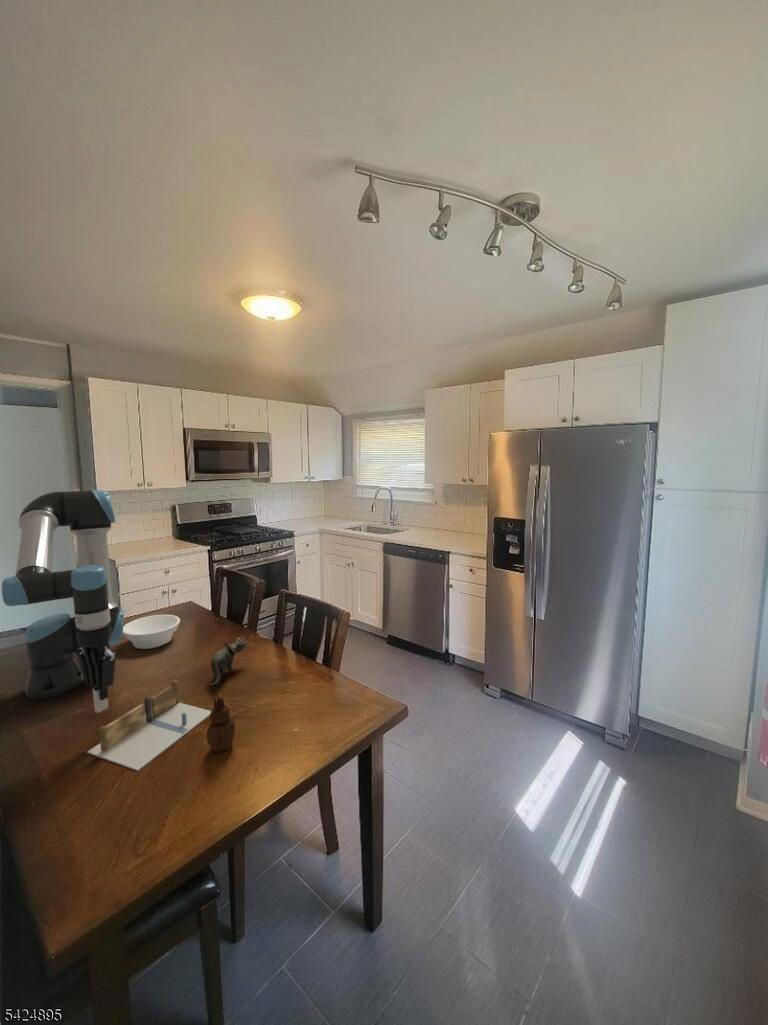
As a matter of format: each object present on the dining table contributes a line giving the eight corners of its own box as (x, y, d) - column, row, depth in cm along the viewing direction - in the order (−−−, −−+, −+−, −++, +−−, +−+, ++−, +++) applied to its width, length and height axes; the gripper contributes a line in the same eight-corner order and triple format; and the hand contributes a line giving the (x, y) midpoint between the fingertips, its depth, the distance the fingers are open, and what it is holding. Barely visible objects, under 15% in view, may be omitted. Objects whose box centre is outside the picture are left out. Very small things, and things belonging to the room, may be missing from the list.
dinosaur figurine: (213, 696, 134) (211, 663, 132) (190, 693, 135) (188, 660, 134) (249, 663, 155) (247, 634, 153) (228, 661, 157) (226, 632, 155)
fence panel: (142, 721, 119) (141, 702, 119) (146, 722, 119) (144, 703, 118) (99, 750, 108) (97, 728, 107) (103, 751, 107) (101, 730, 107)
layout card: (87, 753, 108) (86, 740, 108) (167, 700, 131) (167, 690, 131) (138, 771, 102) (137, 758, 101) (213, 712, 125) (212, 702, 125)
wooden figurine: (217, 759, 106) (214, 703, 104) (203, 750, 109) (200, 696, 107) (239, 743, 112) (237, 691, 110) (225, 736, 115) (222, 684, 113)
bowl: (164, 655, 162) (163, 634, 161) (110, 654, 162) (109, 634, 161) (190, 632, 183) (189, 614, 182) (142, 632, 183) (141, 614, 182)
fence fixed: (144, 723, 120) (142, 698, 119) (176, 702, 131) (175, 679, 130) (149, 724, 120) (147, 700, 119) (180, 703, 130) (178, 680, 129)
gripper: (61, 627, 109) (70, 712, 112) (96, 634, 104) (105, 722, 107) (90, 617, 116) (98, 697, 119) (124, 623, 111) (131, 706, 114)
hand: (101, 709), depth 113 cm, fingers closed
